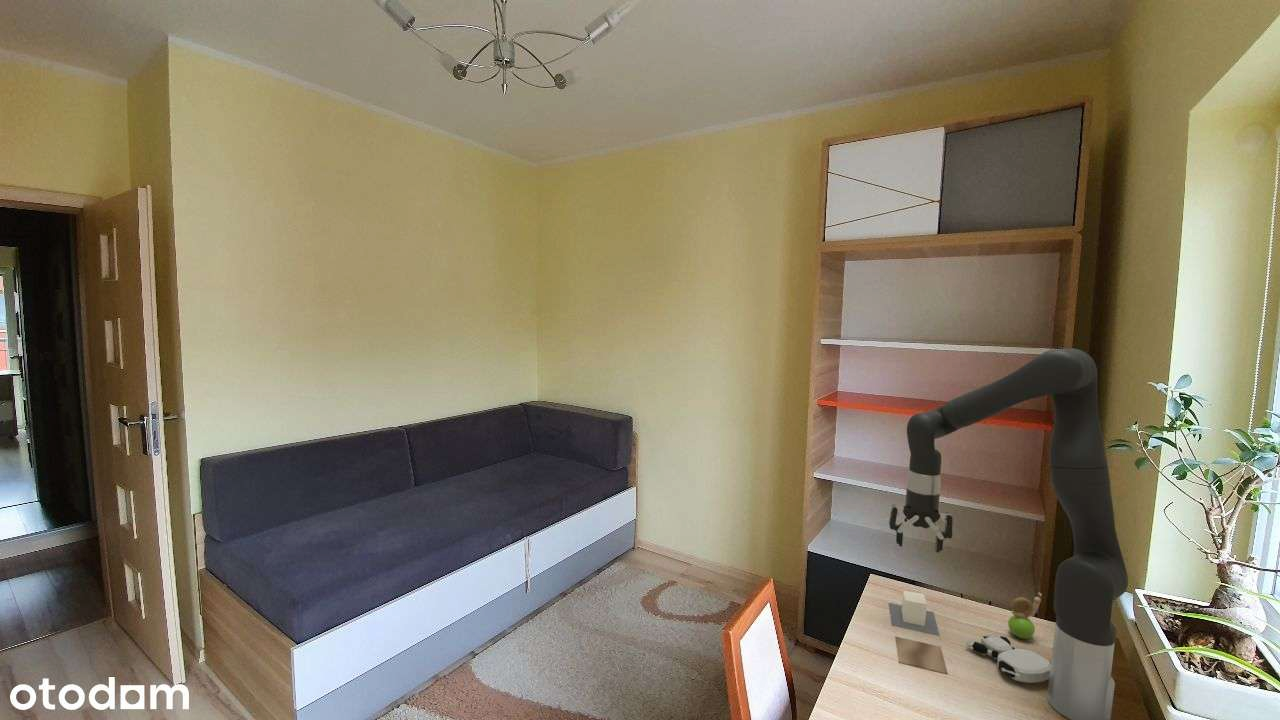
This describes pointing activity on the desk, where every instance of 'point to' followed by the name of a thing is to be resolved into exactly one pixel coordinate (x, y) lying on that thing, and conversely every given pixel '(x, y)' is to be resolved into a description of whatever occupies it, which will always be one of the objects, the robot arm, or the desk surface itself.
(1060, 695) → the robot arm
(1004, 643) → the robot toy
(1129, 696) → the desk surface
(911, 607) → the white block
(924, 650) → the walnut board
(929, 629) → the mat
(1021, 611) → the snail figurine
